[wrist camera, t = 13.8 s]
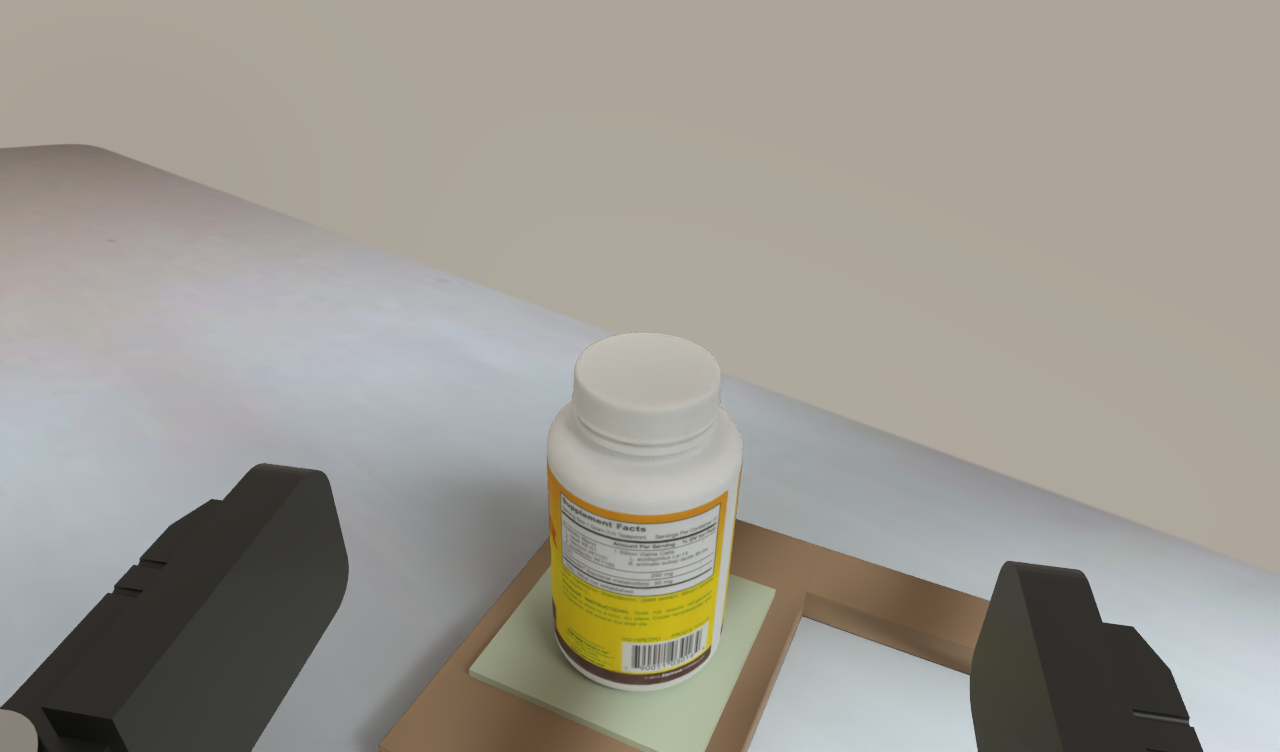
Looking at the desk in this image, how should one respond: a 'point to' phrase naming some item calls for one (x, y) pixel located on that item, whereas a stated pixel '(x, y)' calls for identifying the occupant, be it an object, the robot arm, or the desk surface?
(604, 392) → the supplement bottle
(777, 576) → the puzzle board
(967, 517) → the desk surface
